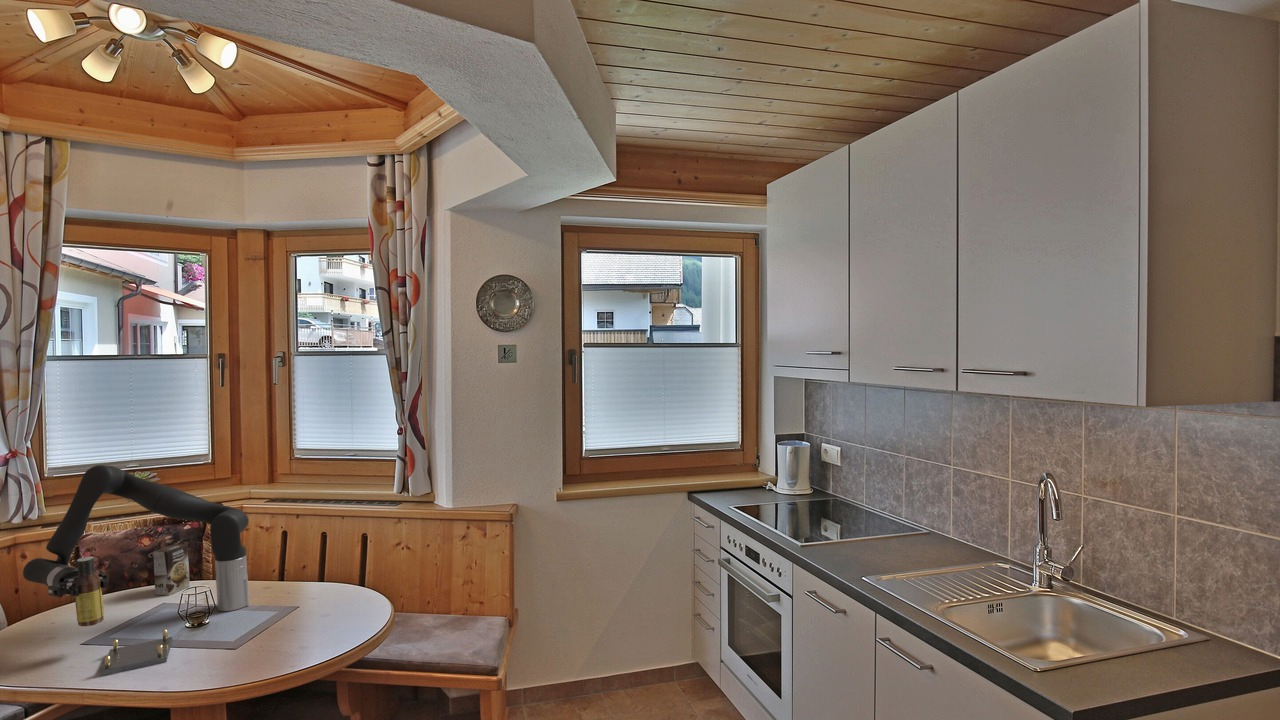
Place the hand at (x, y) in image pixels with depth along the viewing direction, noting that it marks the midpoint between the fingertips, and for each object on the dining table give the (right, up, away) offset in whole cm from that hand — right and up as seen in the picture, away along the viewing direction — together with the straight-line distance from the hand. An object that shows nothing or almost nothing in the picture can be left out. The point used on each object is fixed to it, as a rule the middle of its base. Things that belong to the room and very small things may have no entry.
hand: (91, 588), depth 200 cm
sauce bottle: (-2, -11, +2) cm, 11 cm away
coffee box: (-10, -18, +50) cm, 54 cm away
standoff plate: (+16, -19, -3) cm, 25 cm away
